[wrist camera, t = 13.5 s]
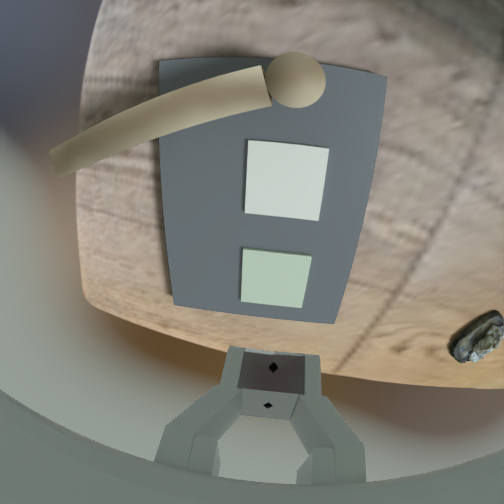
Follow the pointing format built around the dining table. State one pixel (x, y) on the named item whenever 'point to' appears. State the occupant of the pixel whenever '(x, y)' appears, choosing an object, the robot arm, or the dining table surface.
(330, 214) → the label board
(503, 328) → the grey rough oval rock
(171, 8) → the dining table surface
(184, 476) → the robot arm
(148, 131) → the swing arm
